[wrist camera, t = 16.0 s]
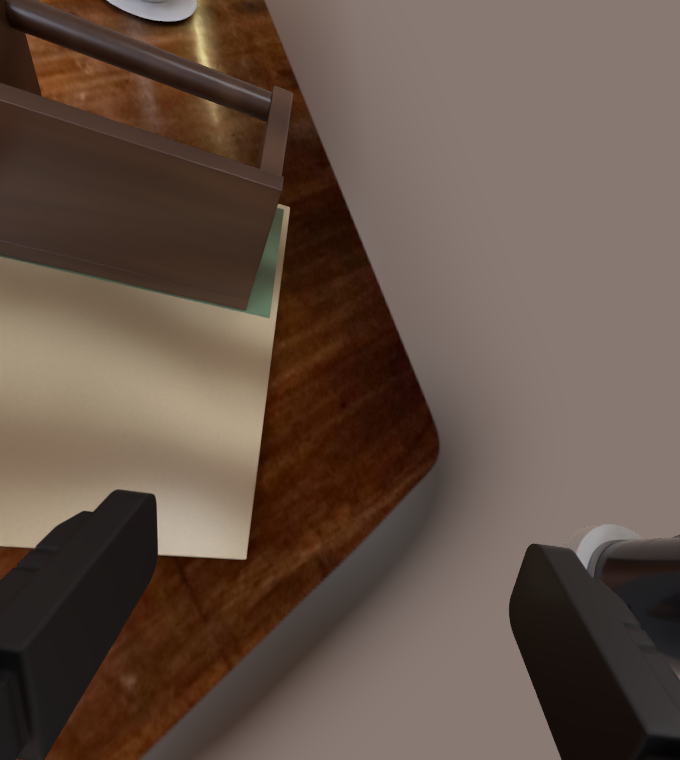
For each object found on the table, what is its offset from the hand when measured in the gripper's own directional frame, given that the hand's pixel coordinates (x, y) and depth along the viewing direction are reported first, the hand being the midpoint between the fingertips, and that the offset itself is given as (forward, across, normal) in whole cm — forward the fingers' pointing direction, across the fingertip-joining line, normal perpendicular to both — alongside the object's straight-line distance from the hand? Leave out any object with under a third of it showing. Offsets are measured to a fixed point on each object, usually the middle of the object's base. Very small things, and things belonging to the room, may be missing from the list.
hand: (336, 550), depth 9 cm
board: (+20, +15, +1) cm, 25 cm away
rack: (+25, +16, -5) cm, 30 cm away
